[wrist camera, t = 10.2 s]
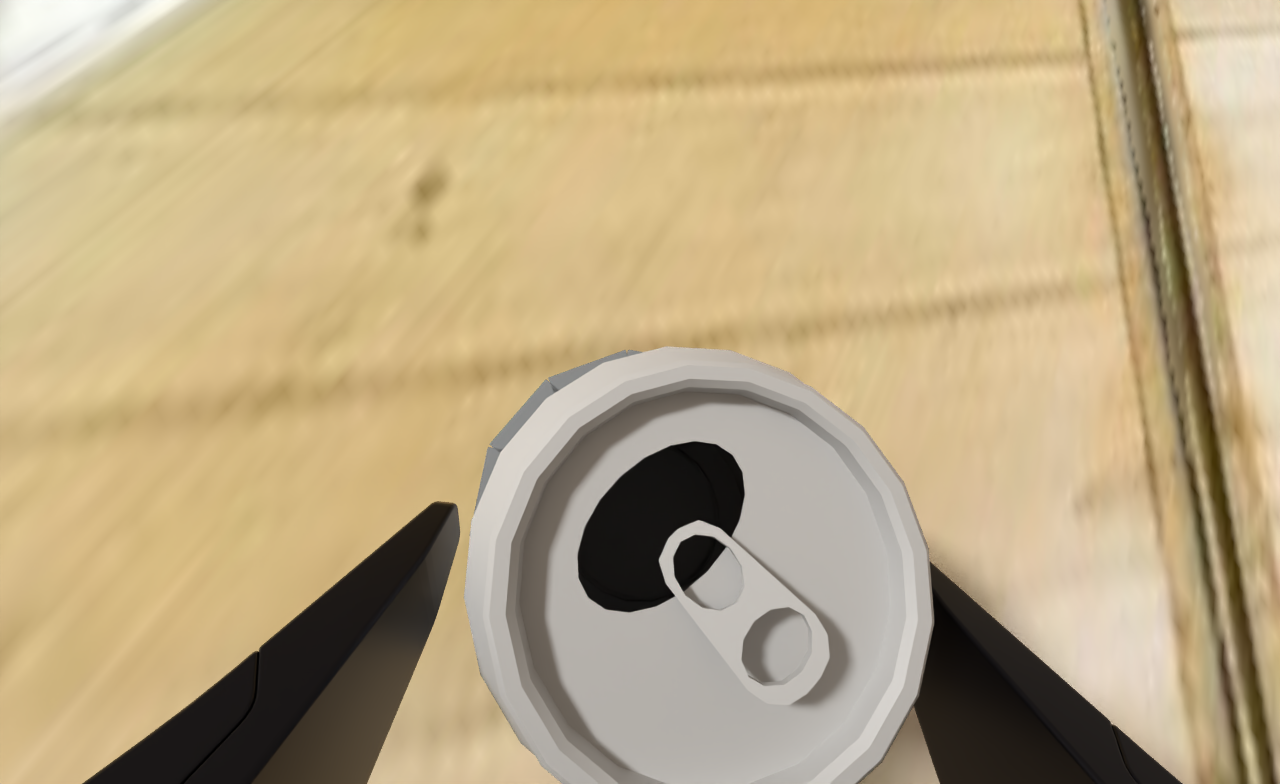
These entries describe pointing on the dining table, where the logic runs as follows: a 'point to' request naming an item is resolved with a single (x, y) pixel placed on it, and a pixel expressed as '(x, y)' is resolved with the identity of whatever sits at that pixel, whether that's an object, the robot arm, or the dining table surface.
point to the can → (698, 579)
